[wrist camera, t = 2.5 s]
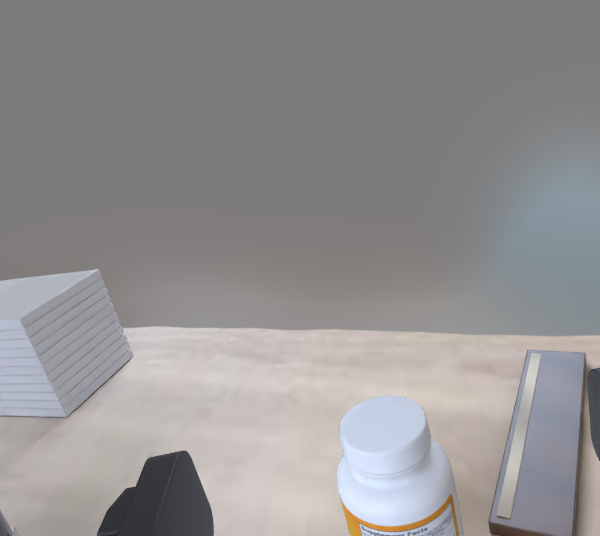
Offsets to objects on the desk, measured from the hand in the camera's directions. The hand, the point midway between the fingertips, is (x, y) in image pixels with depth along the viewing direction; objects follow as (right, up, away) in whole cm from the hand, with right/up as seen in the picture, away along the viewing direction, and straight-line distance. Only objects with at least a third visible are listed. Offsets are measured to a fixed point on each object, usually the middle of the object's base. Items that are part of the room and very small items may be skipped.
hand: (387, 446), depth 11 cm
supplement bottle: (+4, -12, +17) cm, 21 cm away
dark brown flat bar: (+14, -7, +23) cm, 28 cm away
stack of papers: (-37, -10, +51) cm, 63 cm away
